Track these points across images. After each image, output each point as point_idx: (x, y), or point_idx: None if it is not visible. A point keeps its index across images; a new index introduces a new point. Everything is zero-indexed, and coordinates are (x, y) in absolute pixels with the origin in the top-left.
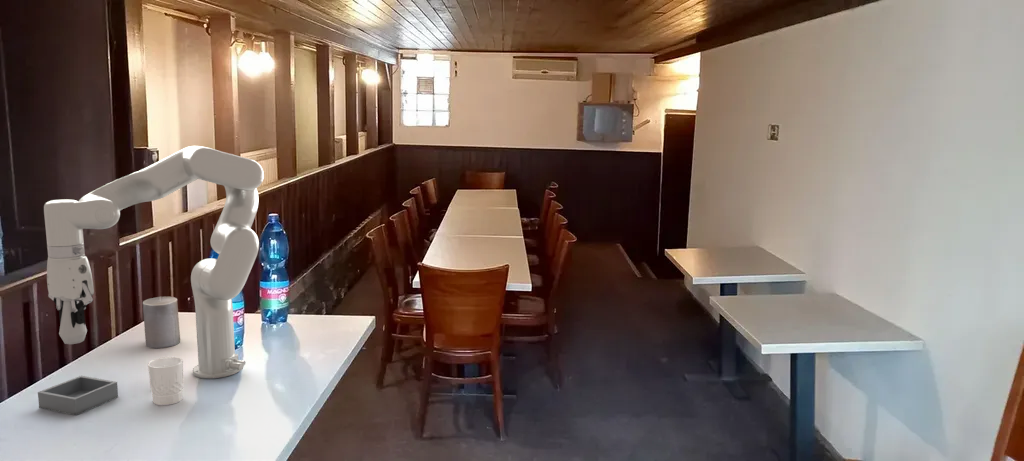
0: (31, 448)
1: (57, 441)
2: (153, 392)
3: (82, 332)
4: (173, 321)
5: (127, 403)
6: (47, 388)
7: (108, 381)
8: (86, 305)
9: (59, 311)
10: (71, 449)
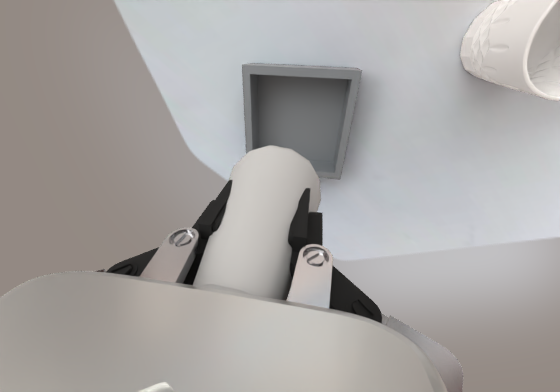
0: (357, 252)
1: (376, 235)
2: (489, 81)
3: (320, 196)
4: None
5: (400, 91)
6: (246, 151)
7: (337, 75)
8: (361, 292)
9: None
10: (412, 247)
